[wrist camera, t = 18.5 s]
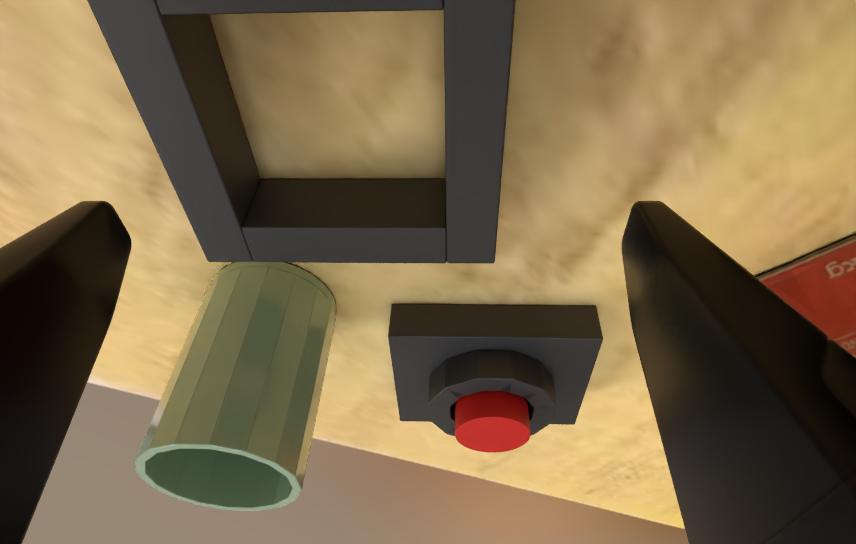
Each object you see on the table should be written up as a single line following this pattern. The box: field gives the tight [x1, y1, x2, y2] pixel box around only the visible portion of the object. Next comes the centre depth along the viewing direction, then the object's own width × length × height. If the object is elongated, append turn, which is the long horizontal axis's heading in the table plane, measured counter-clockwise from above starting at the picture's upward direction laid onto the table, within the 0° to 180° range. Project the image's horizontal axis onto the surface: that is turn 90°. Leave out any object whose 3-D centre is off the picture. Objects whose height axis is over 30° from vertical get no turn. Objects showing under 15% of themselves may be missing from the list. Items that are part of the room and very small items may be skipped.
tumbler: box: [135, 261, 336, 511], centre depth 27 cm, size 7×7×10 cm
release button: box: [455, 391, 530, 452], centre depth 30 cm, size 4×4×2 cm
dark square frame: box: [88, 0, 516, 263], centre depth 20 cm, size 12×12×3 cm
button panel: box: [388, 304, 603, 436], centre depth 31 cm, size 11×9×4 cm
